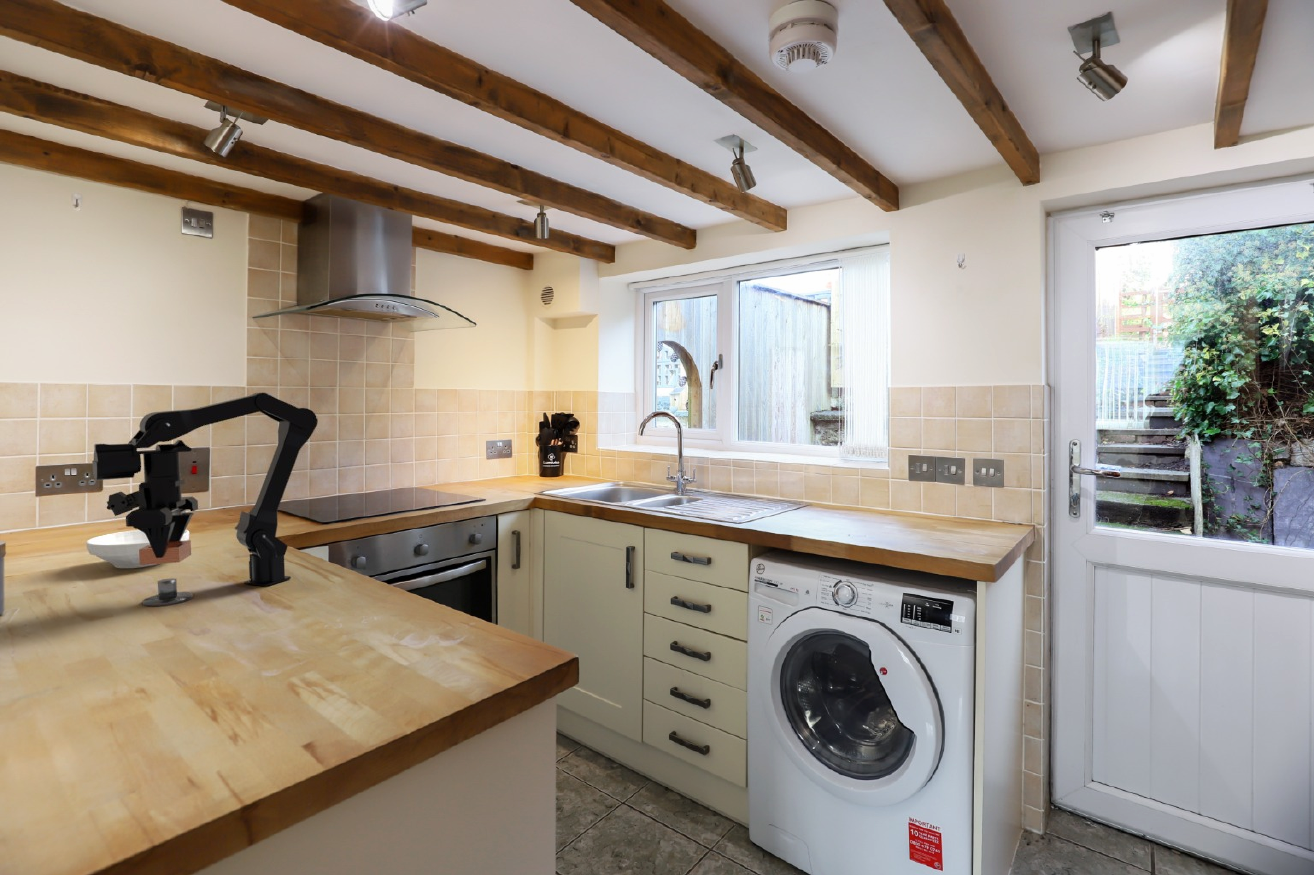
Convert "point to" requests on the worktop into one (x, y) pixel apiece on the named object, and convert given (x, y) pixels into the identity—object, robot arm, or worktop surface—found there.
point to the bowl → (122, 547)
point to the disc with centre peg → (167, 594)
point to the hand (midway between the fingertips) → (166, 553)
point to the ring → (166, 553)
